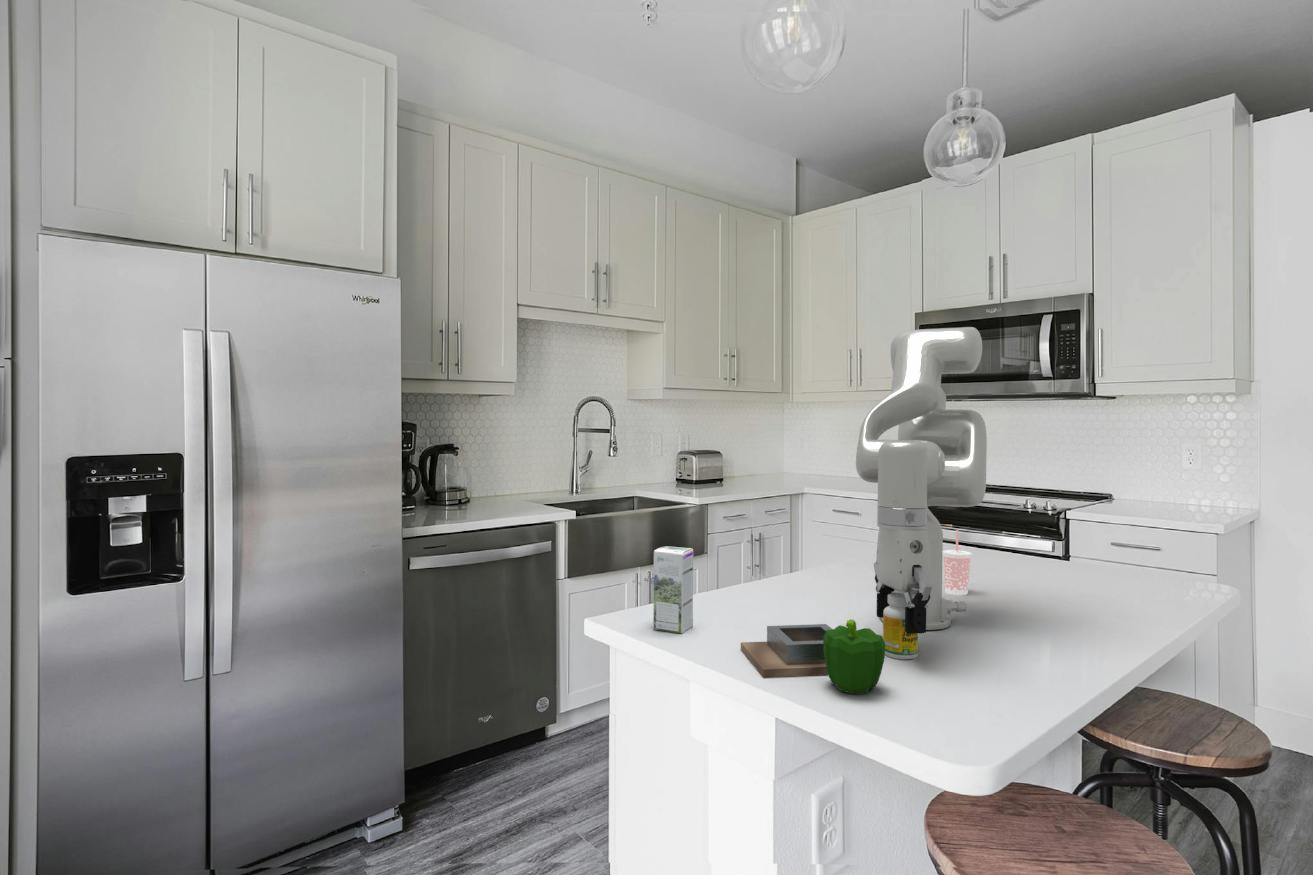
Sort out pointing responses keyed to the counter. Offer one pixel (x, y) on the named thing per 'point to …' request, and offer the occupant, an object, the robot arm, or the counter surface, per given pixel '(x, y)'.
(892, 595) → the supplement bottle
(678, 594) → the syrup box
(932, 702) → the counter surface
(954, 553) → the beverage cup
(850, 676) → the bell pepper
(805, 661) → the socket collar
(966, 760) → the counter surface
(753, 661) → the docking plate
